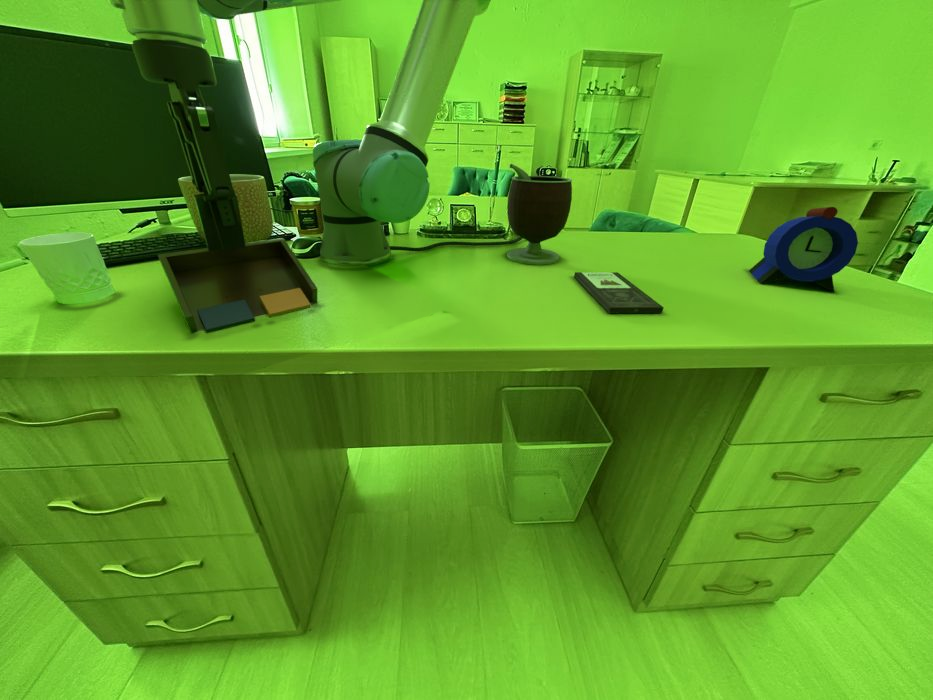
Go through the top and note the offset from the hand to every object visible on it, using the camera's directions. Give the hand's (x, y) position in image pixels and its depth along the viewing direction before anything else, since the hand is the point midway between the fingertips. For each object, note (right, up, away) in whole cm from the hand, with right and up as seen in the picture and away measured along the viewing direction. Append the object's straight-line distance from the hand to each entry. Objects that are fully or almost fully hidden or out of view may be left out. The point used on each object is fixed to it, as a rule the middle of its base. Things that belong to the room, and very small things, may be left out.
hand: (228, 243), depth 55 cm
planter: (-20, +10, +37) cm, 43 cm away
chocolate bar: (+63, -6, +13) cm, 64 cm away
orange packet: (+8, -9, +2) cm, 12 cm away
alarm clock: (+103, -1, +22) cm, 105 cm away
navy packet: (+2, -12, -2) cm, 12 cm away
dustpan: (+1, -7, +3) cm, 7 cm away
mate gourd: (+51, +6, +33) cm, 61 cm away
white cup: (-26, -8, +5) cm, 28 cm away
